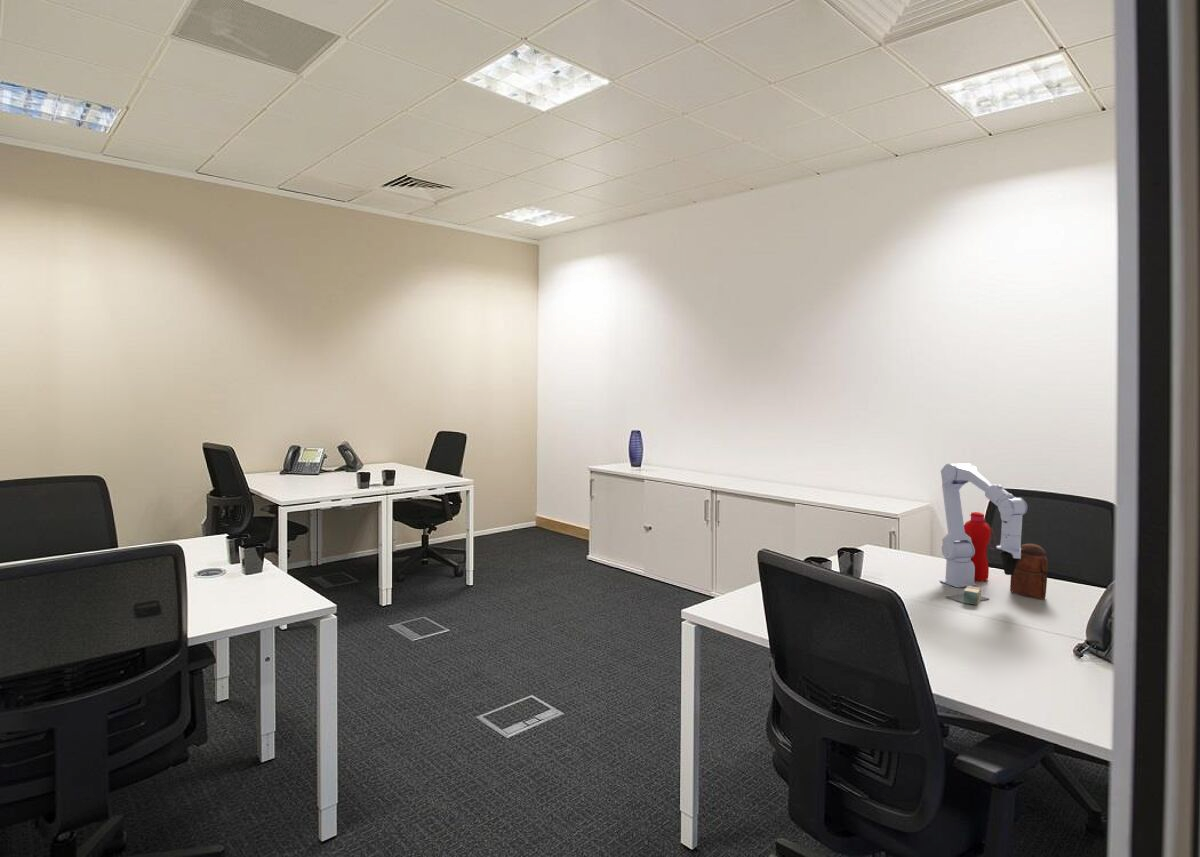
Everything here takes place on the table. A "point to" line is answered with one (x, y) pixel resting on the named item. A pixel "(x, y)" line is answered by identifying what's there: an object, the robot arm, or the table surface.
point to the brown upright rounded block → (1030, 572)
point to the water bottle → (979, 544)
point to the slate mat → (961, 598)
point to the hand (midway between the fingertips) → (1008, 574)
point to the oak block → (972, 595)
